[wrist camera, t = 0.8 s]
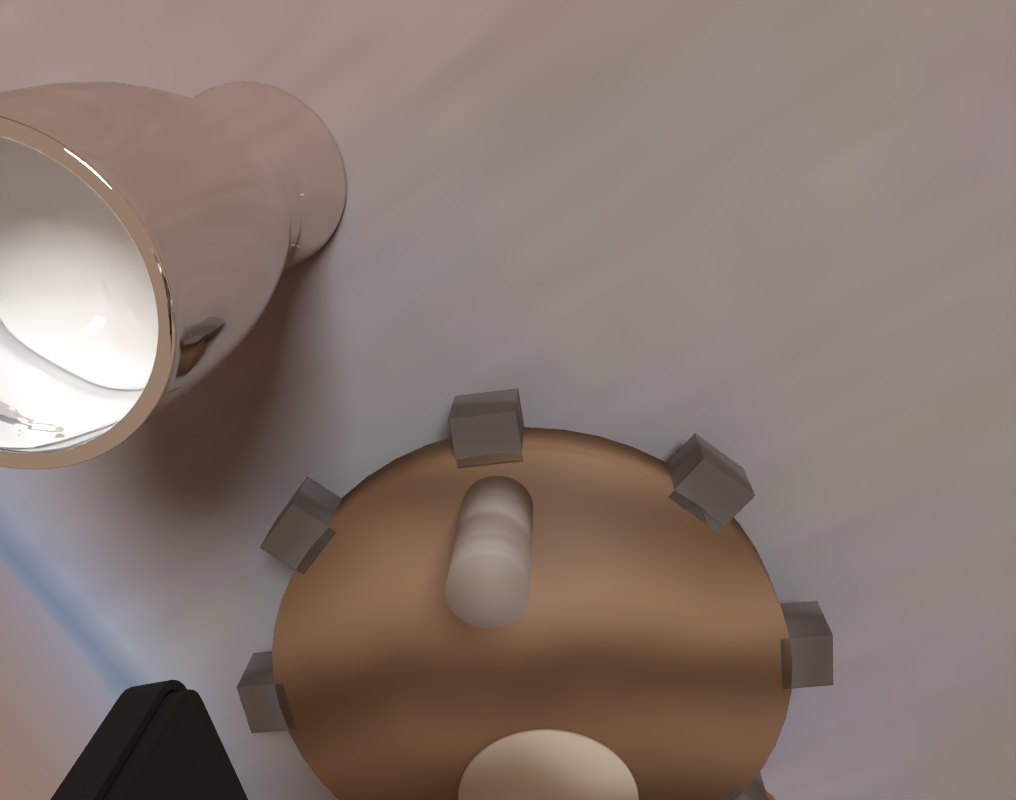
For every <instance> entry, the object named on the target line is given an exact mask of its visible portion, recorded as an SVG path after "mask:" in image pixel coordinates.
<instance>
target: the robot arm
mask: <svg viewBox="0 0 1016 800" xmlns="http://www.w3.org/2000/svg"><path fill="white" fill-rule="evenodd" d="M51 800H248V799H247V796H246V794H245V792H244V790H243V788H242V786H241V783H240V781H239V779H238V777H237V775H236V773H235V770H234V768H233V766H232V764H231V762H230V760H229V757H228V755H227V753H226V751H225V749H224V747H223V744H222V742H221V740H220V738H219V736H218V734H217V731H216V729H215V727H214V725H213V723H212V721H211V718H210V716H209V714H208V712H207V710H206V707H205V705H204V703H203V701H202V699H201V697H200V696H199V694H198V693H197V692H196V691H194V690H187V689H186V687H185V686H184V685H183V684H182V683H181V682H180V681H177V680H169V681H163V682H157V683H152V684H146V685H140V686H134V687H131V688H128V689H126V690H125V691H124V692H123V693H122V694H121V695H120V697H119V698H118V700H117V701H116V703H115V704H114V706H113V707H112V709H111V710H110V712H109V713H108V715H107V716H106V718H105V719H104V721H103V722H102V724H101V725H100V727H99V728H98V730H97V731H96V733H95V734H94V736H93V737H92V739H91V740H90V742H89V743H88V745H87V746H86V748H85V749H84V751H83V752H82V754H81V755H80V757H79V758H78V759H77V761H76V762H75V764H74V766H73V767H72V768H71V770H70V772H69V773H68V774H67V776H66V778H65V779H64V780H63V782H62V783H61V785H60V786H59V788H58V789H57V791H56V792H55V794H54V795H53V797H52V798H51Z"/></svg>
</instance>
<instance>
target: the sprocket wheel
mask: <svg viewBox="0 0 1016 800" xmlns="http://www.w3.org/2000/svg"><path fill="white" fill-rule="evenodd" d="M448 420H449V425H450V431H451V436H452V438H449V439H445V440H442V441H439V442H436V443H432V444H429V445H426V446H423V447H421V448H419V449H417V450H415V451H413V452H410V453H408V454H406V455H404V456H402V457H399V458H397V459H395V460H393V461H392V462H390V463H389V464H387V465H385V466H384V467H382V468H381V469H379V470H377V471H376V472H374V473H373V474H371V475H369V476H368V477H367V478H365V479H364V480H363V481H362V482H361V483H359V484H358V485H357V486H356V487H355V488H354V489H352V490H351V491H350V492H349V493H348V494H346V495H345V496H344V497H343V498H342V499H341V498H339V497H338V496H336V495H335V494H333V493H332V492H330V491H329V490H327V489H325V488H324V487H322V486H321V485H319V484H318V483H316V482H315V481H313V480H312V479H310V478H309V477H307V478H306V480H305V481H304V482H303V484H302V485H301V486H300V488H299V489H298V490H297V492H296V493H295V495H294V496H293V497H292V499H291V500H290V501H289V503H288V504H287V505H286V507H285V508H284V509H283V511H282V512H281V513H280V515H279V516H278V518H277V519H276V521H275V522H274V524H273V526H272V528H271V529H270V531H269V533H268V534H267V536H266V538H265V540H264V541H263V543H262V545H261V546H260V548H261V549H263V550H265V551H266V552H268V553H269V554H271V555H273V556H274V557H276V558H277V559H279V560H281V561H282V562H284V563H285V564H287V565H289V566H290V567H292V568H293V569H295V571H294V573H293V576H292V578H291V580H290V582H289V585H288V587H287V589H286V591H285V594H284V596H283V598H282V601H281V605H280V609H279V612H278V616H277V620H276V624H275V629H274V639H273V650H272V652H261V653H253V655H252V657H251V659H250V661H249V663H248V666H247V668H246V670H245V672H244V674H243V676H242V678H241V680H240V682H239V684H238V686H237V690H238V693H239V696H240V699H241V702H242V705H243V708H244V711H245V714H246V718H247V721H248V724H249V727H250V730H251V733H260V732H272V731H284V730H289V733H290V735H291V736H292V738H293V740H294V742H295V744H296V745H297V747H298V749H299V751H300V753H301V754H302V756H303V758H304V759H305V760H306V762H307V763H308V764H309V766H310V767H311V768H312V770H313V771H314V772H315V774H316V775H317V776H318V778H319V779H320V780H321V781H322V782H323V783H324V784H325V785H326V786H327V787H328V788H329V789H330V790H331V792H332V793H333V794H334V795H335V796H336V797H337V798H338V799H339V800H768V798H767V795H766V791H765V788H764V784H763V780H762V777H761V773H760V770H761V769H762V767H763V766H764V764H765V762H766V760H767V759H768V757H769V755H770V753H771V752H772V750H773V748H774V746H775V745H776V742H777V740H778V737H779V734H780V732H781V729H782V727H783V724H784V721H785V719H786V714H787V710H788V705H789V700H790V695H791V688H802V687H814V686H826V685H833V636H832V632H831V630H830V628H829V626H828V624H827V622H826V620H825V617H824V615H823V613H822V611H821V609H820V607H819V604H818V602H817V601H813V602H802V603H791V604H781V605H780V603H779V601H778V598H777V596H776V593H775V590H774V588H773V585H772V583H771V580H770V578H769V575H768V573H767V571H766V569H765V567H764V565H763V562H762V560H761V558H760V556H759V554H758V552H757V550H756V548H755V546H754V545H753V543H752V542H751V540H750V539H749V538H748V536H747V535H746V533H745V532H744V530H743V529H742V527H741V526H740V524H739V523H738V522H737V521H736V520H735V518H734V516H735V515H736V514H737V513H738V512H739V511H740V510H741V509H742V508H743V507H744V506H745V505H746V504H747V503H748V502H749V501H750V500H751V499H752V498H753V497H754V496H755V495H754V492H753V490H752V488H751V485H750V483H749V481H748V479H747V476H746V474H745V472H744V469H743V468H742V467H741V466H739V465H738V464H736V463H735V462H734V461H732V460H731V459H730V458H728V457H727V456H726V455H724V454H723V453H721V452H720V451H719V450H717V449H716V448H715V447H713V446H712V445H711V444H709V443H708V442H706V441H705V440H704V439H702V438H701V437H700V436H698V435H697V434H696V433H695V434H694V435H693V436H692V437H691V438H690V439H689V440H688V441H687V442H686V444H685V445H684V446H683V447H682V448H681V449H680V450H679V451H678V452H677V453H676V454H675V456H674V457H673V458H672V459H671V460H670V461H669V462H668V463H666V462H664V461H662V460H660V459H658V458H656V457H653V456H651V455H649V454H647V453H645V452H642V451H640V450H638V449H636V448H634V447H631V446H628V445H625V444H622V443H618V442H615V441H612V440H609V439H606V438H603V437H599V436H594V435H589V434H584V433H578V432H573V431H568V430H560V429H544V428H529V427H527V428H524V424H523V417H522V411H521V404H520V398H519V391H518V389H511V390H502V391H494V392H486V393H477V394H469V395H461V396H455V397H454V401H453V405H452V408H451V412H450V415H449V419H448Z"/></svg>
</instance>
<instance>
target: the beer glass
mask: <svg viewBox="0 0 1016 800" xmlns="http://www.w3.org/2000/svg"><path fill="white" fill-rule="evenodd" d="M345 198H346V174H345V168H344V163H343V159H342V156H341V153H340V150H339V148H338V146H337V143H336V141H335V139H334V137H333V136H332V134H331V132H330V131H329V129H328V128H327V126H326V125H325V123H324V122H323V121H322V120H321V118H320V117H319V116H318V115H317V114H316V113H315V112H314V111H313V110H312V109H311V108H310V107H309V106H307V105H306V104H305V103H304V102H302V101H301V100H299V99H298V98H297V97H295V96H293V95H292V94H290V93H288V92H286V91H284V90H282V89H279V88H277V87H274V86H271V85H267V84H263V83H257V82H231V83H226V84H222V85H218V86H215V87H212V88H210V89H207V90H205V91H203V92H201V93H200V94H198V95H196V96H195V97H193V98H189V97H186V96H182V95H179V94H175V93H172V92H168V91H165V90H160V89H156V88H150V87H144V86H138V85H132V84H126V83H118V82H68V83H54V84H47V85H41V86H34V87H28V88H22V89H15V90H10V91H5V92H1V93H0V466H1V467H7V468H15V469H52V468H60V467H66V466H70V465H75V464H78V463H82V462H85V461H88V460H91V459H93V458H96V457H98V456H100V455H102V454H104V453H106V452H108V451H110V450H112V449H113V448H115V447H117V446H118V445H120V444H121V443H123V442H124V441H125V440H127V439H128V438H129V437H130V436H132V435H133V434H134V433H135V432H136V431H137V430H138V429H139V428H140V427H141V426H142V425H144V424H145V423H146V422H148V421H149V420H151V419H152V418H154V417H155V416H157V415H158V414H160V413H161V412H163V411H164V410H166V409H167V408H168V407H170V406H171V405H173V404H174V403H175V402H177V401H178V400H179V399H181V398H182V397H183V396H185V395H186V394H188V393H189V392H190V391H191V390H193V389H194V388H195V387H196V386H197V385H199V384H200V383H201V382H202V381H203V380H204V379H206V378H207V377H208V376H209V375H210V374H211V373H213V372H214V371H215V370H216V369H217V368H218V367H219V366H221V365H222V364H223V363H224V362H225V361H226V359H227V358H228V357H229V356H230V355H231V354H232V353H233V352H234V351H235V349H236V348H237V347H238V346H239V345H240V344H241V343H242V342H243V341H244V339H245V338H246V337H247V336H248V335H249V333H250V332H251V331H252V329H253V328H254V327H255V325H256V323H257V322H258V320H259V318H260V317H261V315H262V313H263V312H264V310H265V308H266V306H267V305H268V303H269V301H270V299H271V298H272V296H273V294H274V292H275V289H276V287H277V285H278V282H279V280H280V277H281V275H282V273H283V270H284V269H286V268H289V267H292V266H295V265H297V264H299V263H301V262H303V261H305V260H306V259H308V258H310V257H311V256H312V255H314V254H315V253H316V252H318V251H319V250H320V249H321V248H322V247H323V246H324V245H325V244H326V243H327V241H328V240H329V239H330V238H331V236H332V235H333V233H334V231H335V230H336V228H337V226H338V224H339V221H340V219H341V216H342V212H343V209H344V204H345Z"/></svg>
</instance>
